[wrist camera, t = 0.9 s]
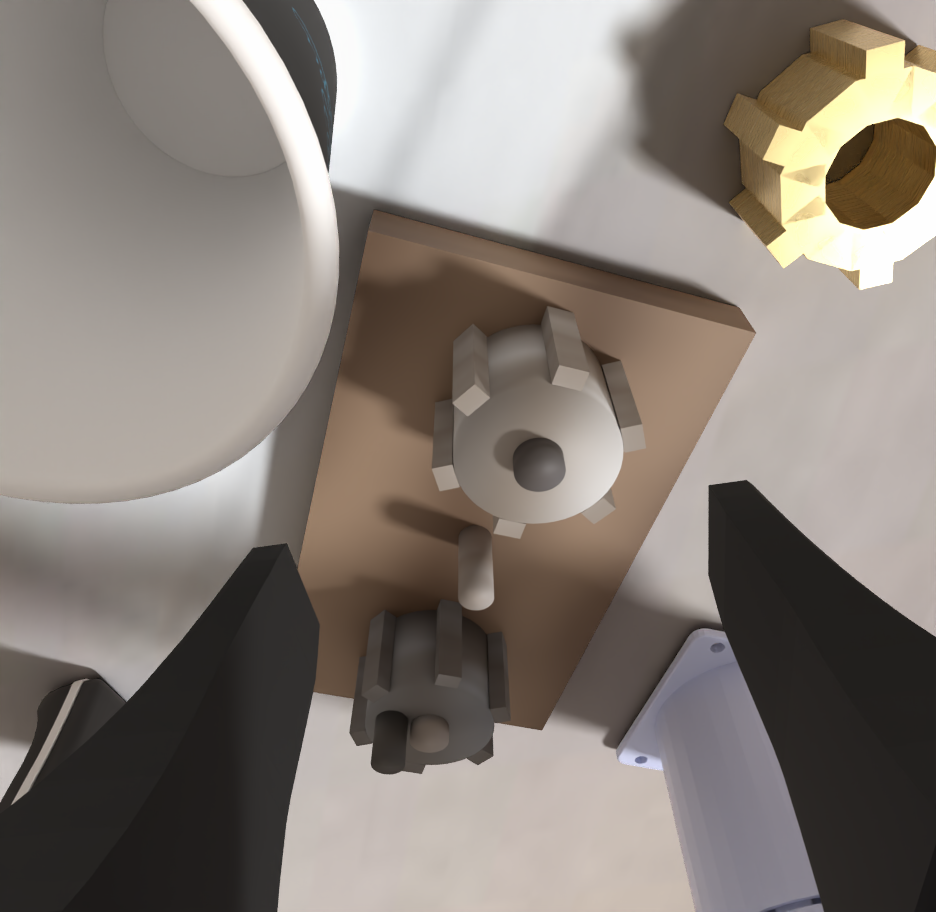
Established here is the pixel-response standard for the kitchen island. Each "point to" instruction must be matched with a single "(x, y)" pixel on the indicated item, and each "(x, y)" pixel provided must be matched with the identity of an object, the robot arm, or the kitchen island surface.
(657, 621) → the kitchen island surface
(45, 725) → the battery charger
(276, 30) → the dixie cup
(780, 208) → the brass gear
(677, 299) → the gear board
